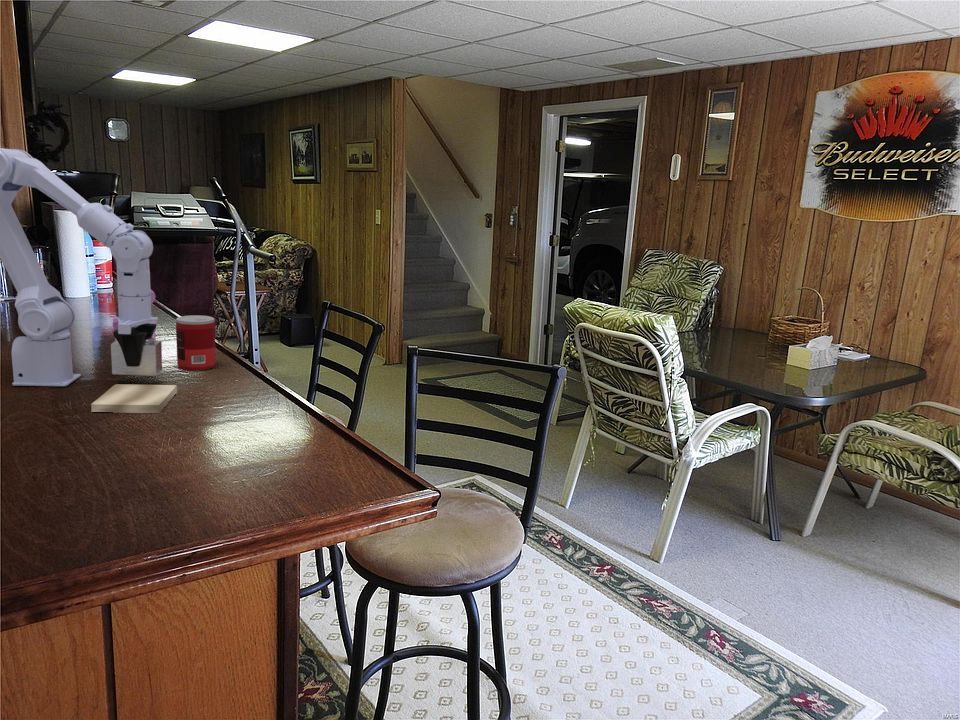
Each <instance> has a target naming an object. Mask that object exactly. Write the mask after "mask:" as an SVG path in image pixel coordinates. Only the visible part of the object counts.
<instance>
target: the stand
mask: <svg viewBox="0 0 960 720" xmlns="http://www.w3.org/2000/svg"><path fill="white" fill-rule="evenodd" d="M175 394H176V395H177V394H178V385H177V384H176V385H174V384H133V383H132V384H128V383H127V384H123V383H122V384H119V383H116V384H114V385H113V386H111V387H110V388H109V389H108V390H107V391H105V392H104V393H103V394H102V395H100V396H99V397H97V399H96V400H94V401H93V402H91V404H90V407H91V411H90V412H91V413H92V412H113V413H112V414H114V413H115V414H160V413H162V411H164V409H165V408H164V407H167V405H168V404H169V403H170V402H171V401H172V399H173V398H174V397H175V396H176V395H175ZM174 395H175V396H174ZM169 401H170V402H169ZM168 402H169V403H168Z"/></svg>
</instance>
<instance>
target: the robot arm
mask: <svg viewBox="0 0 960 720" xmlns="http://www.w3.org/2000/svg"><path fill="white" fill-rule="evenodd" d="M24 187H29V188H34V189H36V190H38V191H40V192H42V193H43V194H44V195H46V196H47V197H49V198H51V200H53V201H55V203H57V204H59V205H60V206H62V207H63V208H65V209H66V210H67V211H69V212H71V214H73V215H74V216H76V220H77V224H78V227H80V228H81V229H82V230H84V231H85V232H86V233H87V234H89V235H90V236H92V237H93V238H94V239H96V240H97V241H99V242H100V243H101V244H102V245H103V246H105V247H106V248H108V249H109V251H110V253H111V256H112V258H114V259H115V261H116V284H117V285H116V286H117V306H118V307H117V309H118V316H117V317H118V323H119V324H118V330H115V331H114V330H113V331H112V332H113V333H112V334H113V337H114V338H116V340H117V341H118V343H119V345H120V347H121V349H122V352H123V355H124V359H125V362H126V365H127V366H129V367H138V366H139V364H140V360H141V351H142V345H143V342H144V339H145V337H151V338H152V335H153V333H154V331H155V332H156V329H157V322H158V321H159V317H157V316H153V315H152V304H151V290H152V289H151V272H150V271H151V270H150V257H151V256H152V254H153V251H154V244H153V241H152V238H150V237H149V236H148V234H147V233H146V232H145V231H143V230H136V229H135V230H134V227H135V226H134V225H133V224H132V223H130V222H129V223H127V222H125V221H124V220H122V219H121V217H119V216H117V214H115V213H113V212H112V211H113V207H111V206H110V205H108V204H104V205H103V204H102V203H100V202H89V201H87V200H86V199H85V198H84V197H83V196H81V195H80V194H79V193H78V192H76V191H75V190H74V188H72V187H71V186H69V184H67V183H66V182H65V181H63V179H61V178H60V177H59V176H57V175H56V174H55V173H54V172H53V171H51V169H49V168H48V167H47V166H46V165H45V164H44V163H43V162H42V161H41V160H39V159H37V158H35V157H33V156H32V155H31V154H29V153H28V152H27V151H25V150H23V149H19V148H12V149H11V148H2V147H0V260H1V262H2V264H3V266H4V267H5V269H6V272H7V274H8V276H9V278H10V280H11V283H12V285H13V286H14V288H15V290H16V292H17V295H16V299H15V302H14V307H15V309H16V312H17V315H18V316H17V317H18V319H17V323H18V327H19V329H20V330H21V332H22V333H23V334H24V335H26V336H22V335H21V336H17V337H15V339H14V340H13V342H12V345H11V346H12V347H11V363H12V376H13V382H12V383H11V384H12V386H20V387H21V386H24V387H25V386H26V387H28V386H29V387H33V386H34V387H35V386H36V387H67V386H69V385H70V384H71V383H73V382H74V381H76V380H78V379H79V378H81V376H82V374H81V373H74V369H73V355H72V339H71V332H70V328H71V327H72V326H73V324H74V323H75V319H76V314H75V311H74V308H73V306H72V305H71V304H70V303H68V302H67V301H66V300H65V299H64V297H62V295H61V292H60V291H59V290H57V289H56V288H55V287H54V286H52V285H51V284H50V283H49V280H48V279H47V277H46V275H45V273H44V271H43V268H42V267H41V264H40V262H39V261H38V258H37V256H36V253H35V252H34V250H33V248H32V245H31V244H30V241H29V239H28V238H27V235H26V232H25V231H24V229H23V227H22V224H21V223H20V221H19V219H18V217H17V214H16V213H15V210H14V208H13V205H12V204H13V202H14V200H15V199H16V197H17V194H18V193H19V192H20V191H21V190H22V189H23V188H24ZM150 289H151V290H150ZM150 322H155V323H156V324H150Z"/></svg>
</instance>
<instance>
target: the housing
mask: <svg viewBox="0 0 960 720" xmlns="http://www.w3.org/2000/svg"><path fill="white" fill-rule="evenodd" d="M162 350H163V349H162V340H156V341H154V338H151V337H145V339H144V342H143V345H142V351H141V360H140V364H139V366H138V367H129V366H127V365H126V362H125V359H124V355H123V352H122V349H121V347H120V345H119V343H118V341H117V340H116V341H115V340H114V341H113V342H112V343H111V344H110V355H111V374H112V375H121V376H122V375H125V376H126V375H128V376H130V375H131V376H157V375H159V374H160V372H162V370H163V355H162V354H163V353H162Z"/></svg>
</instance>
